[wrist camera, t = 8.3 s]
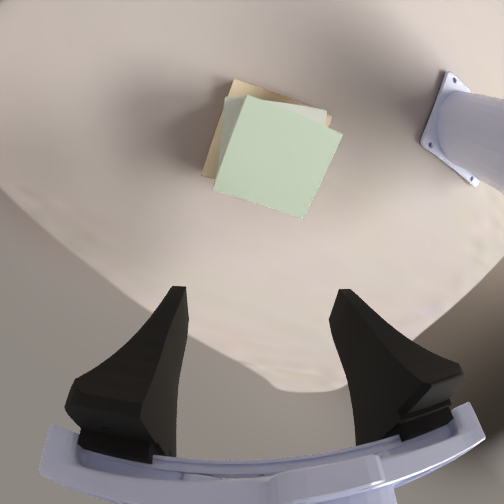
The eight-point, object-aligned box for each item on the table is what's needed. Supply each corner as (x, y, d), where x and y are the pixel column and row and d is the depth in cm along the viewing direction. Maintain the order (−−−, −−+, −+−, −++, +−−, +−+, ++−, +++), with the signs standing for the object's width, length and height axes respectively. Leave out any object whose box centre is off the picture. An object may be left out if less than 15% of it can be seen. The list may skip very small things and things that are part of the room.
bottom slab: (322, 114, 19) (332, 116, 17) (289, 194, 22) (294, 204, 20) (234, 81, 17) (234, 79, 15) (204, 167, 20) (201, 175, 18)
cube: (316, 124, 15) (343, 134, 11) (287, 189, 17) (303, 219, 13) (244, 95, 14) (247, 94, 10) (218, 165, 16) (212, 190, 12)
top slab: (316, 108, 16) (327, 110, 15) (303, 190, 19) (310, 201, 18) (225, 97, 16) (224, 96, 14) (218, 182, 19) (216, 193, 17)
